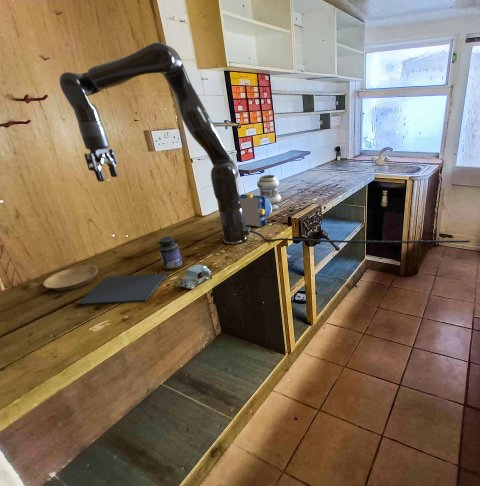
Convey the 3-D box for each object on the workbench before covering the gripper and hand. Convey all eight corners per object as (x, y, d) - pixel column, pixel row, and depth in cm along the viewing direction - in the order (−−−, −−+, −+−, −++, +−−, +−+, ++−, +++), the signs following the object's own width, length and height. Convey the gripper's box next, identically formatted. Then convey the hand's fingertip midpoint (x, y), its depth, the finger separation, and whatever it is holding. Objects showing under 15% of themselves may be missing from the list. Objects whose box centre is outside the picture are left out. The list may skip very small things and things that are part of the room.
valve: (261, 227, 146) (260, 195, 142) (235, 224, 151) (233, 193, 147) (276, 222, 158) (275, 192, 154) (251, 219, 163) (249, 190, 159)
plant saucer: (41, 284, 105) (38, 278, 104) (92, 267, 115) (90, 261, 114) (52, 300, 96) (49, 293, 95) (106, 280, 106) (103, 273, 105)
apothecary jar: (255, 210, 172) (251, 178, 164) (267, 204, 182) (264, 173, 174) (274, 212, 167) (271, 179, 160) (285, 206, 177) (282, 174, 170)
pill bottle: (186, 263, 116) (179, 236, 111) (174, 271, 110) (166, 243, 106) (173, 261, 118) (166, 234, 113) (160, 269, 112) (152, 241, 108)
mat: (166, 274, 109) (166, 273, 108) (145, 301, 94) (145, 299, 94) (108, 278, 108) (107, 276, 107) (77, 305, 93) (76, 303, 93)
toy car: (179, 289, 100) (175, 275, 98) (202, 274, 108) (199, 262, 106) (194, 293, 97) (190, 279, 95) (216, 278, 106) (214, 265, 104)
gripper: (91, 135, 108) (107, 182, 114) (115, 132, 121) (128, 174, 127) (69, 137, 108) (86, 183, 114) (95, 133, 121) (109, 175, 127)
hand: (108, 178), depth 121 cm, fingers open, 8 cm apart
